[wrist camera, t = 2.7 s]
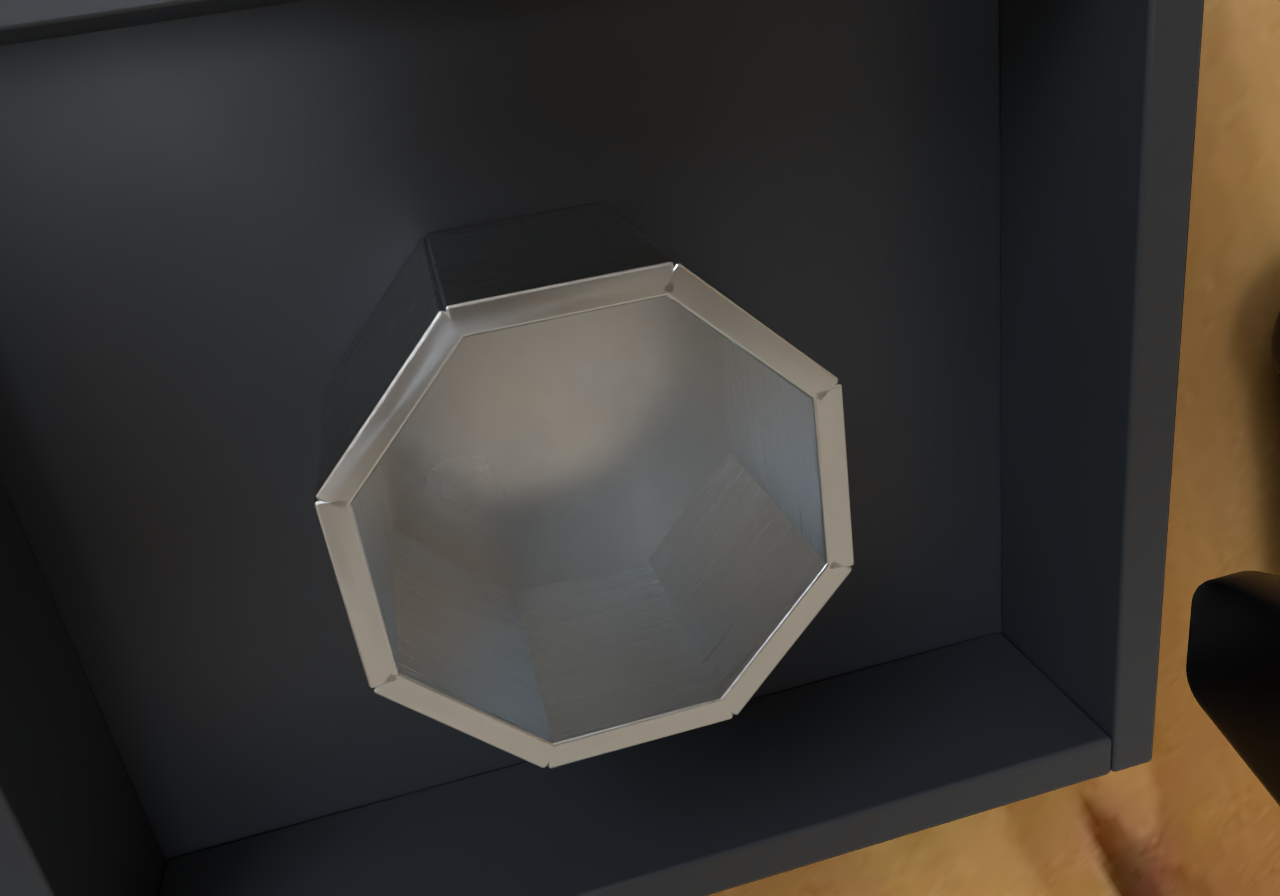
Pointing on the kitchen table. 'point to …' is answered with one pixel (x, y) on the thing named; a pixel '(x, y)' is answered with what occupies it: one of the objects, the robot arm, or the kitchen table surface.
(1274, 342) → the door handle
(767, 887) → the kitchen table surface
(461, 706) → the octagonal metal cup
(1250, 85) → the kitchen table surface
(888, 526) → the dark grey tray
